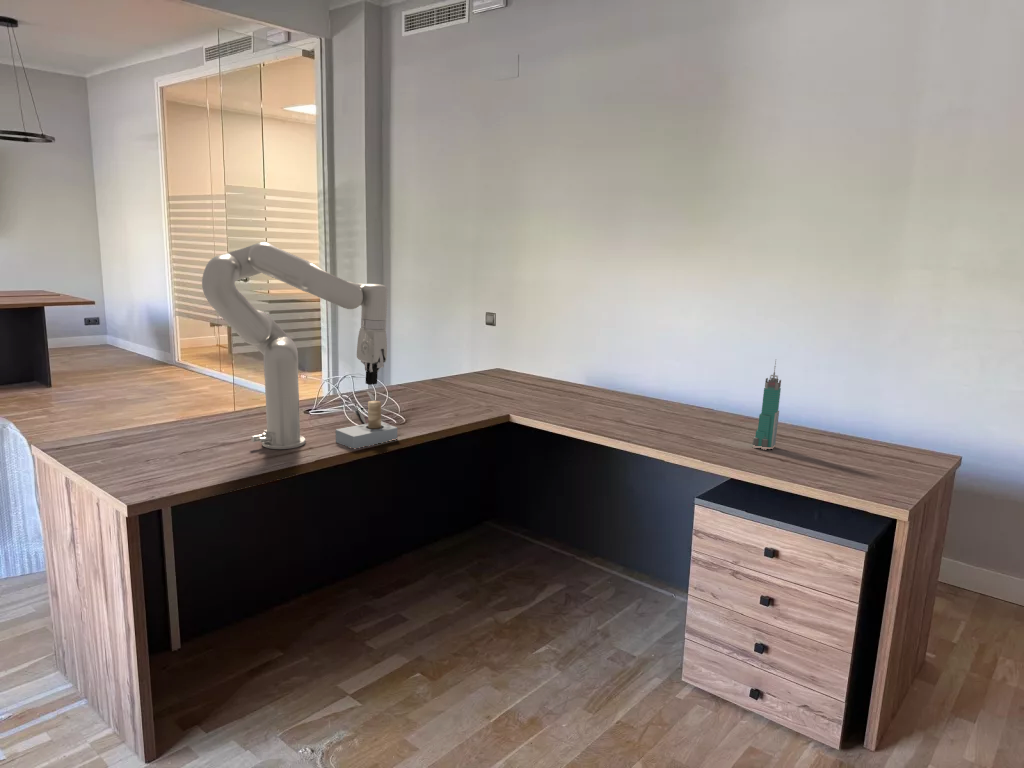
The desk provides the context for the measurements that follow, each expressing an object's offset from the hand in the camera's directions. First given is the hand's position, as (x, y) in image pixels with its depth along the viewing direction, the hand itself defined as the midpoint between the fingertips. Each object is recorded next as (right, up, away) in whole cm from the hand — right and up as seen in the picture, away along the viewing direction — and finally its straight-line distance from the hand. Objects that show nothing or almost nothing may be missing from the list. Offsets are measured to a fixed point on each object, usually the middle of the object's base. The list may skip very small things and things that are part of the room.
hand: (371, 383), depth 218 cm
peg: (0, -17, +4) cm, 18 cm away
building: (+125, -21, +9) cm, 127 cm away
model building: (-7, -12, +31) cm, 34 cm away
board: (-2, -18, +2) cm, 18 cm away
